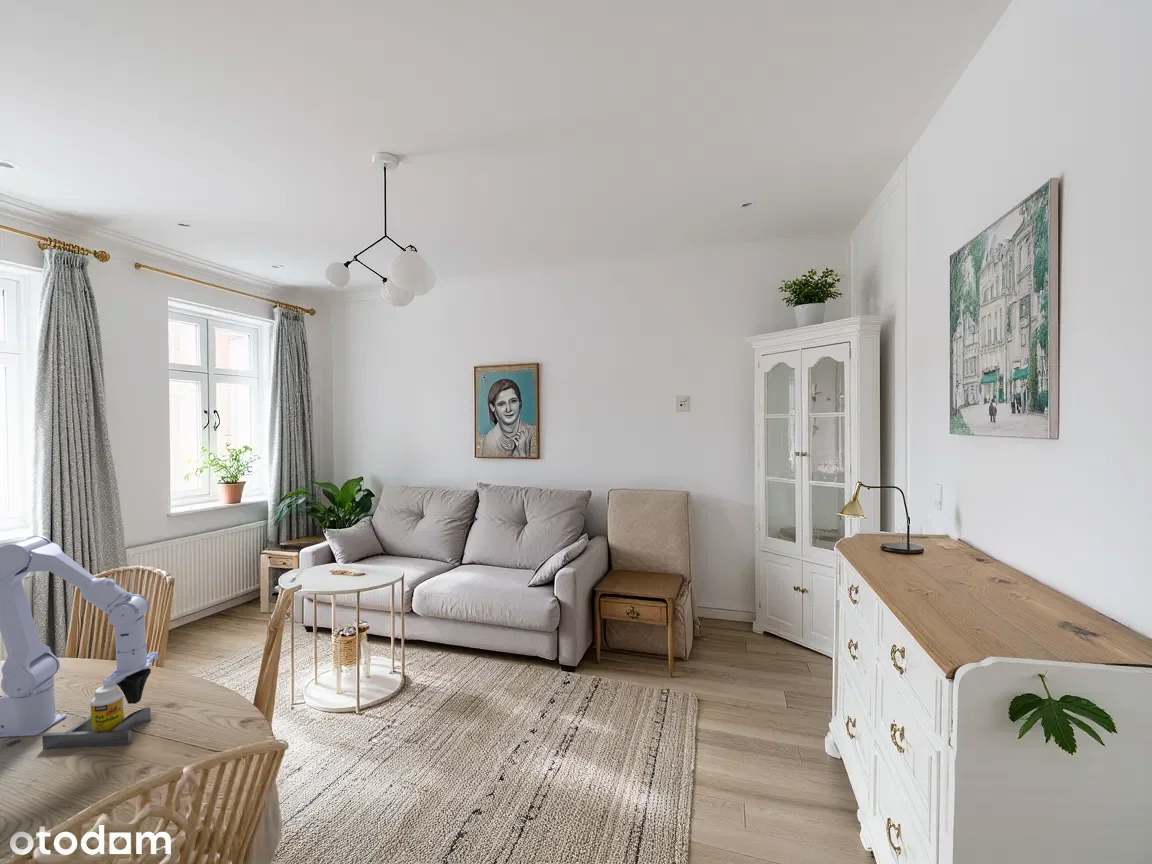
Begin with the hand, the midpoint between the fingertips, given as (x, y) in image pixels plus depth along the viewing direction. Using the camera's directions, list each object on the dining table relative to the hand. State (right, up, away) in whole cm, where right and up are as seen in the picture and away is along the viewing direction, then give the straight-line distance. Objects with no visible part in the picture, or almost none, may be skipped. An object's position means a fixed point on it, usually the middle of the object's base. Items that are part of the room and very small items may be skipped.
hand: (134, 702), depth 131 cm
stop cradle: (0, -3, -8) cm, 9 cm away
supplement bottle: (+1, -3, -8) cm, 8 cm away
